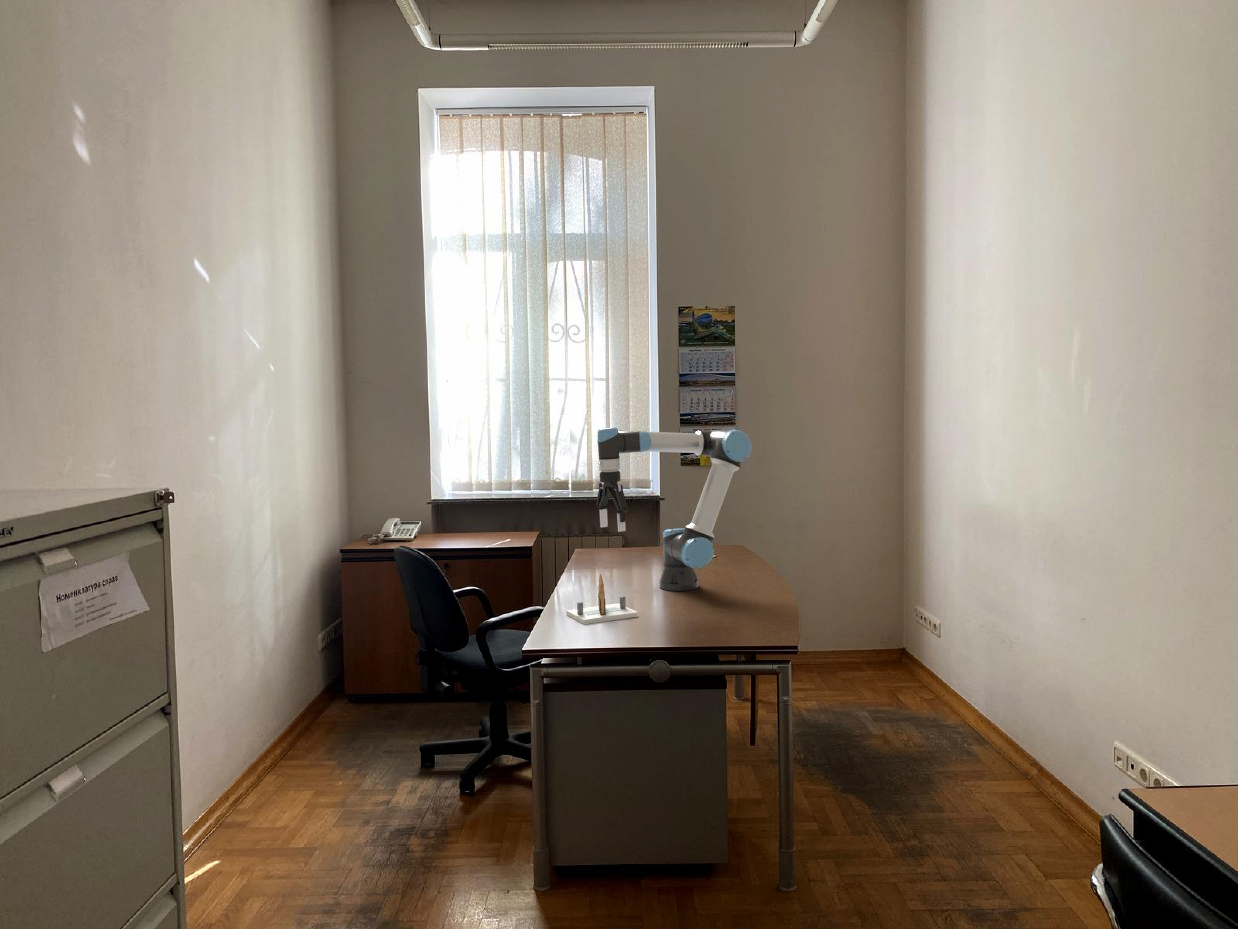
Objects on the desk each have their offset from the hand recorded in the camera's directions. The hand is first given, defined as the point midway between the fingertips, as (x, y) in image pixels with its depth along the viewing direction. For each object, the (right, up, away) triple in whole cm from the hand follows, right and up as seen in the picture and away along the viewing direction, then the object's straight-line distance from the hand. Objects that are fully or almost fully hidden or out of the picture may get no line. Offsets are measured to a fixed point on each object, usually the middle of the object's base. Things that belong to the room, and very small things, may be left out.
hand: (612, 529), depth 311 cm
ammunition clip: (-4, -27, -18) cm, 32 cm away
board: (-4, -28, -18) cm, 33 cm away
